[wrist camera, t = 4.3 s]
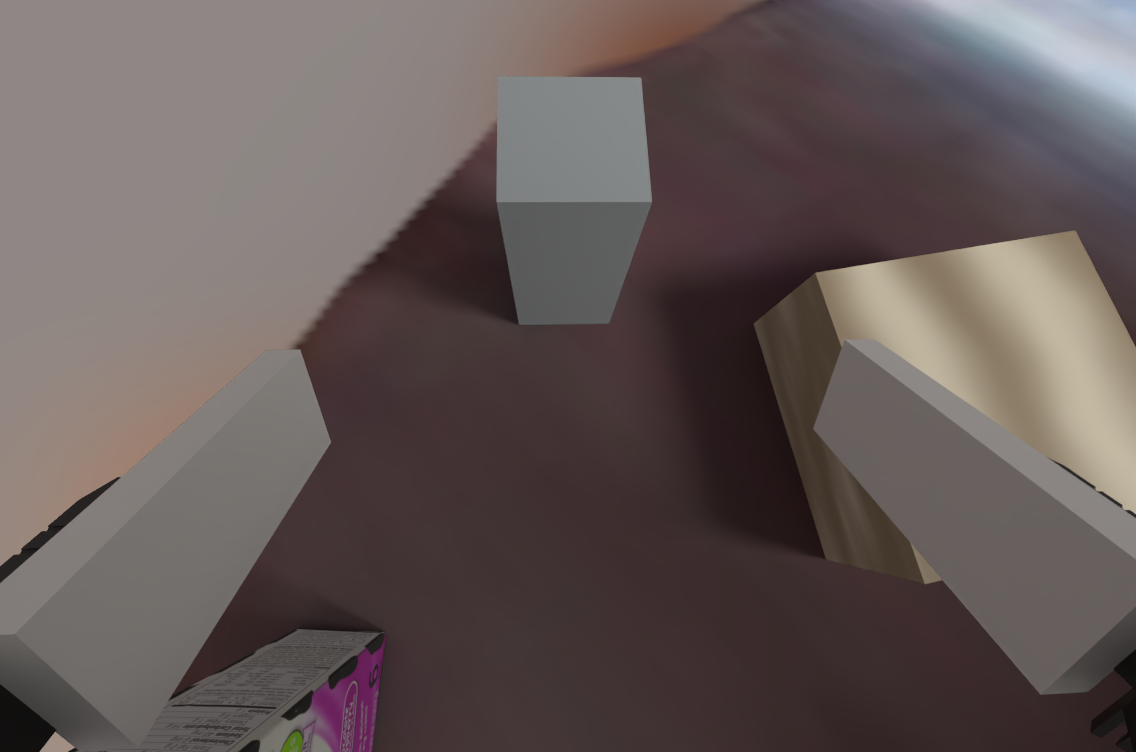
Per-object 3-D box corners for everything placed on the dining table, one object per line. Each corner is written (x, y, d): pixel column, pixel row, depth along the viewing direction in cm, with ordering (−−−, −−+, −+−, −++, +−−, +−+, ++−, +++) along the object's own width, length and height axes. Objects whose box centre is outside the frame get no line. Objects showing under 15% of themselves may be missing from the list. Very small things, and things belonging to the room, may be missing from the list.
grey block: (604, 243, 29) (641, 77, 17) (608, 323, 28) (651, 202, 16) (518, 244, 29) (497, 76, 17) (519, 324, 27) (496, 202, 16)
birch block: (954, 290, 29) (1075, 230, 23) (1048, 509, 26) (1222, 515, 19) (751, 325, 28) (815, 272, 22) (823, 559, 25) (924, 584, 18)
